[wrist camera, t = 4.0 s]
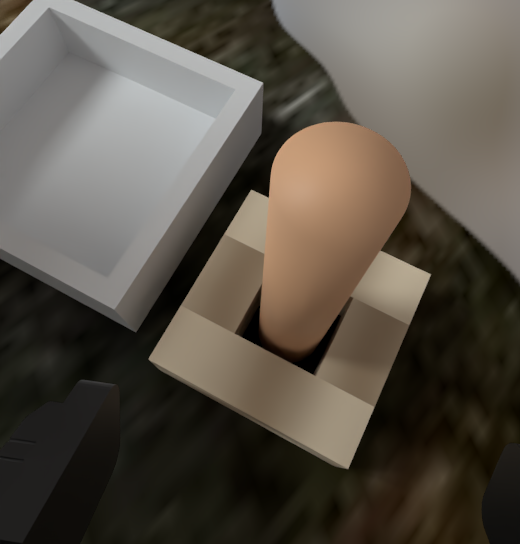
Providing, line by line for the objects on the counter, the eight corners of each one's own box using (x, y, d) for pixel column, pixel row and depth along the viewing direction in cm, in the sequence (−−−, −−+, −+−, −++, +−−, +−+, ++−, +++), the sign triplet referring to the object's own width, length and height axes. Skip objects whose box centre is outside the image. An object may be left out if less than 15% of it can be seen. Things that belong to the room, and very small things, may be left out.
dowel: (247, 344, 23) (245, 205, 10) (275, 291, 24) (308, 101, 11) (303, 374, 23) (378, 268, 10) (330, 319, 24) (431, 155, 11)
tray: (-77, 217, 25) (-134, 176, 21) (70, 47, 29) (44, -13, 26) (136, 332, 23) (114, 309, 20) (261, 133, 27) (263, 82, 24)
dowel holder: (160, 370, 23) (148, 359, 20) (251, 218, 26) (251, 189, 23) (335, 466, 21) (348, 469, 19) (409, 295, 24) (431, 274, 21)
